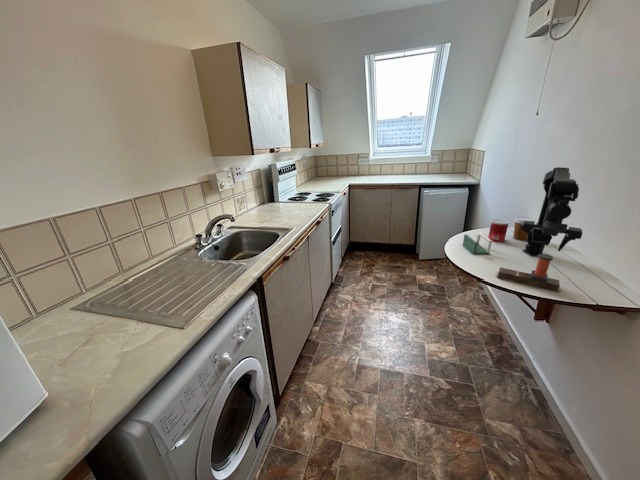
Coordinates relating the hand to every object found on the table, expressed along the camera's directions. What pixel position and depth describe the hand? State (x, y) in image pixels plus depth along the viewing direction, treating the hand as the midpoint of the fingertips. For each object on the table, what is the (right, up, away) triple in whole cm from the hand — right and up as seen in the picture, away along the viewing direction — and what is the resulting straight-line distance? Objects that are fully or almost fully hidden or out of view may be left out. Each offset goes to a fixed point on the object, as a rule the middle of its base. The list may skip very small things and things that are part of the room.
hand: (544, 248), depth 111 cm
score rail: (-7, -14, +1) cm, 16 cm away
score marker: (-4, -12, -3) cm, 13 cm away
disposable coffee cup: (+22, +4, +43) cm, 48 cm away
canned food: (+8, +4, +43) cm, 43 cm away
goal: (-10, -2, +31) cm, 33 cm away
